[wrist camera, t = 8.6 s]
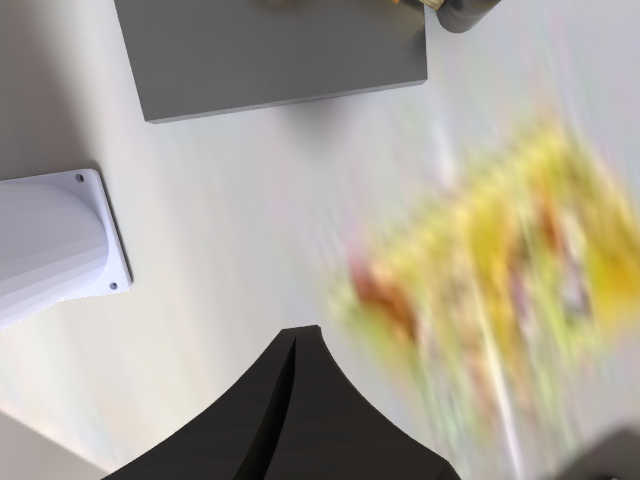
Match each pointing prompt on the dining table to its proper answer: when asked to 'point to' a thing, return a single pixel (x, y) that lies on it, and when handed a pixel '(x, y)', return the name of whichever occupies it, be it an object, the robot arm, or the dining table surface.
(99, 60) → the dining table surface
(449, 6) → the tan piece
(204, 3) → the stand base
